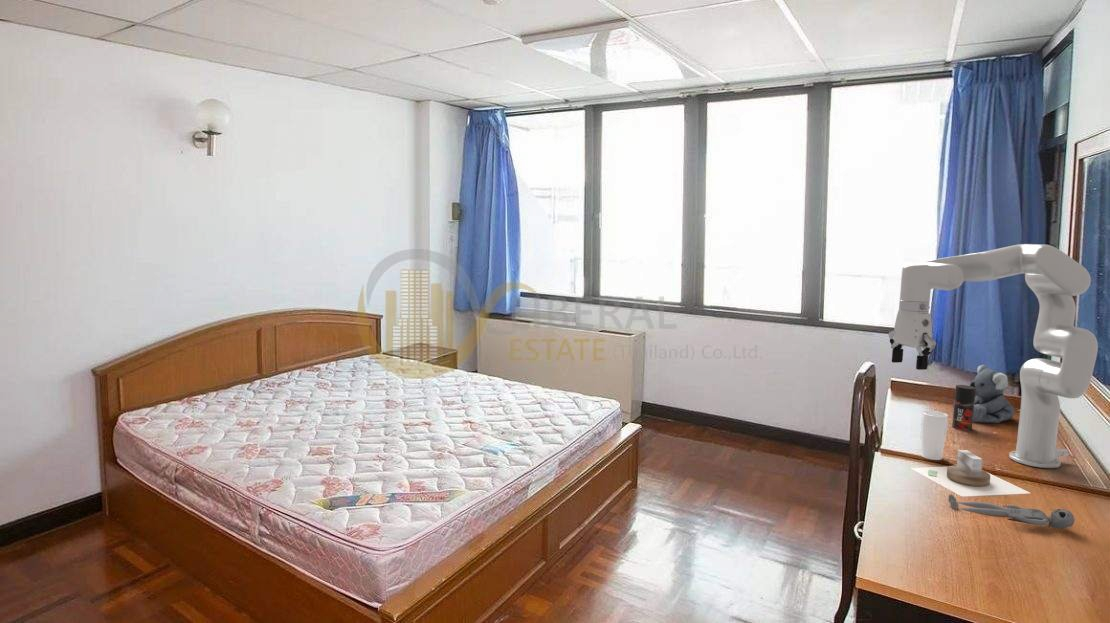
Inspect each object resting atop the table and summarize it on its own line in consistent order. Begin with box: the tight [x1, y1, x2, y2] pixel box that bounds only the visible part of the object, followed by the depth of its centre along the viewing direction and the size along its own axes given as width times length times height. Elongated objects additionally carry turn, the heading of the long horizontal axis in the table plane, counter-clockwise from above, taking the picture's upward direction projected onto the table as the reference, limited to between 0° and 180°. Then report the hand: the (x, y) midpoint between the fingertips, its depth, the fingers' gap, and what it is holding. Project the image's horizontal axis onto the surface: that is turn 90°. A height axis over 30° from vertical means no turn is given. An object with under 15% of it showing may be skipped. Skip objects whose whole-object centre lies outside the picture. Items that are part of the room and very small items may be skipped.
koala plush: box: [952, 364, 1015, 424], centre depth 240 cm, size 17×18×20 cm
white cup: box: [920, 410, 949, 461], centre depth 193 cm, size 7×7×15 cm
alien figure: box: [947, 493, 1075, 530], centre depth 155 cm, size 8×5×25 cm
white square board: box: [909, 465, 1032, 498], centre depth 176 cm, size 20×20×2 cm
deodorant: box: [951, 384, 976, 431], centre depth 227 cm, size 6×6×15 cm
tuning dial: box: [946, 449, 991, 486], centre depth 177 cm, size 14×10×7 cm
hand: (908, 365), depth 185 cm, fingers open, 9 cm apart
